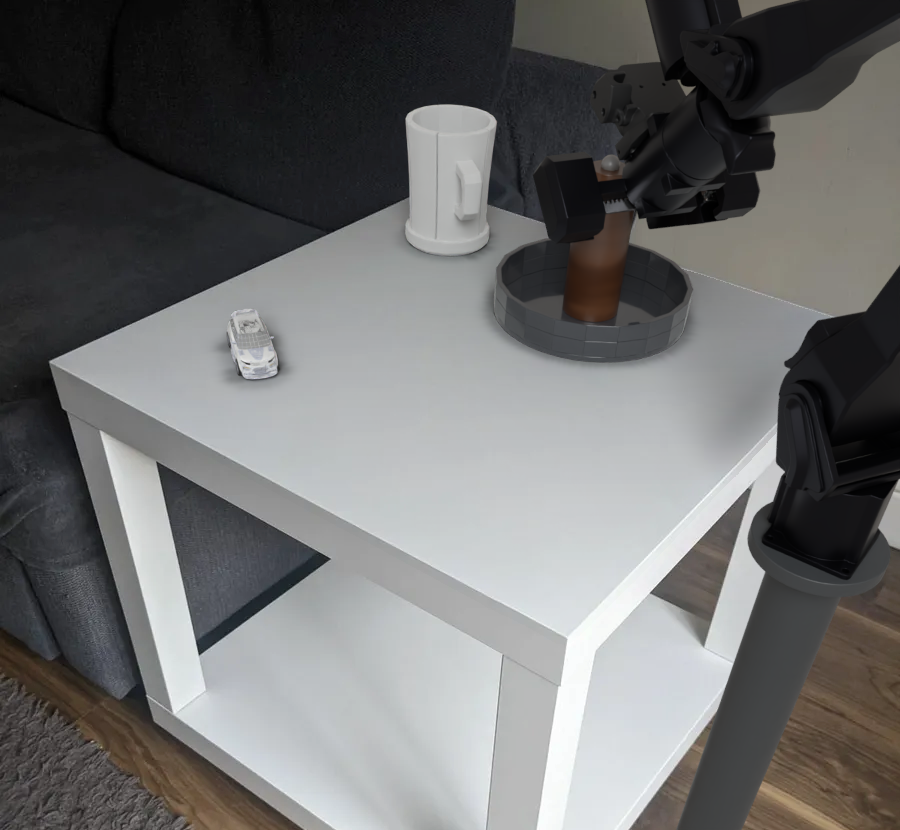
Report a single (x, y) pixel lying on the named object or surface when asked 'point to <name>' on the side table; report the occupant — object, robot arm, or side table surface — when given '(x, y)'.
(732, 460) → the side table surface
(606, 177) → the pepper mill
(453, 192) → the cup
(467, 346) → the side table surface
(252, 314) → the toy car
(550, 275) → the pan
